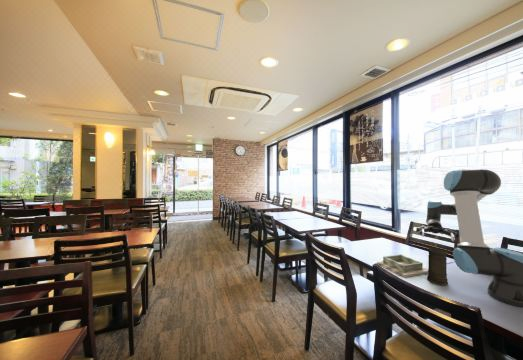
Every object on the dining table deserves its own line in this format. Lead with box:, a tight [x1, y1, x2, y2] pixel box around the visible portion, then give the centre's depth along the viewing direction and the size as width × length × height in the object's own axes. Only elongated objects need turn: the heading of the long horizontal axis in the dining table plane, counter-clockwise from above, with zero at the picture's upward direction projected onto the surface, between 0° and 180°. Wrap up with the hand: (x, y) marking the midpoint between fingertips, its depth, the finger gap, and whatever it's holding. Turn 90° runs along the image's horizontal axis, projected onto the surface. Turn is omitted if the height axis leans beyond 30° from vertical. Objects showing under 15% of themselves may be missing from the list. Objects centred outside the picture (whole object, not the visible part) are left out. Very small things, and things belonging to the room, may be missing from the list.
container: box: [426, 247, 449, 286], centre depth 118 cm, size 9×9×18 cm
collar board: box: [376, 253, 428, 278], centre depth 136 cm, size 20×20×6 cm
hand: (437, 236), depth 124 cm, fingers open, 13 cm apart
